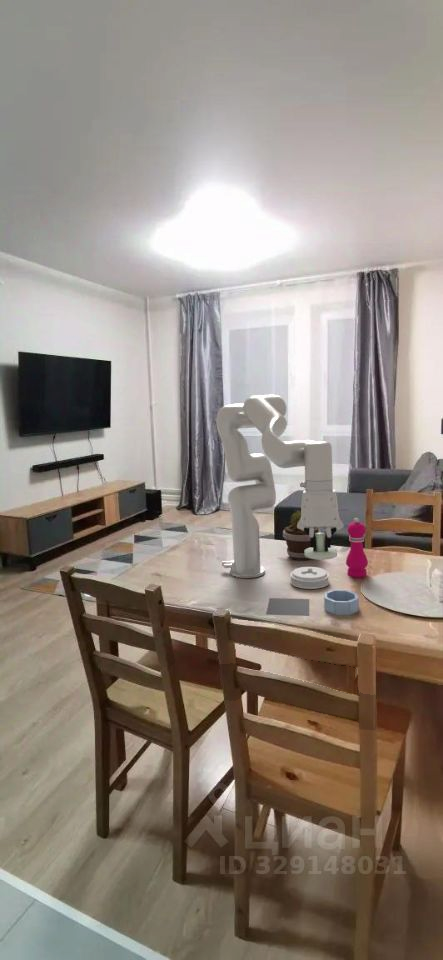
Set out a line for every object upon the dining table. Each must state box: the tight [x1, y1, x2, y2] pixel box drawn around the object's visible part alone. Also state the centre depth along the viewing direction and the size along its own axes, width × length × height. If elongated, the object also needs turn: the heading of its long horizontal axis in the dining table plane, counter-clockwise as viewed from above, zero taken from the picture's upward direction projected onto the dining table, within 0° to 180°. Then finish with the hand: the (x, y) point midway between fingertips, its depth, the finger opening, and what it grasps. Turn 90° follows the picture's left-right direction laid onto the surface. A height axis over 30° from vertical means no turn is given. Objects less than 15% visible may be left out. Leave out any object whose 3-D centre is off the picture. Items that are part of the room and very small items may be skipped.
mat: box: [265, 597, 310, 617], centre depth 142 cm, size 12×12×1 cm
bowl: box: [323, 589, 360, 616], centre depth 139 cm, size 9×9×4 cm
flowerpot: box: [282, 510, 322, 561], centre depth 189 cm, size 14×15×20 cm
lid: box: [289, 566, 330, 590], centre depth 160 cm, size 13×13×5 cm
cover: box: [305, 531, 338, 561], centre depth 138 cm, size 9×9×6 cm
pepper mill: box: [345, 517, 369, 578], centre depth 166 cm, size 7×7×20 cm
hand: (320, 549), depth 138 cm, fingers closed on cover, 2 cm apart
